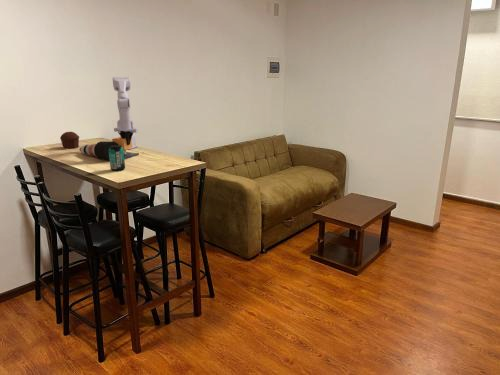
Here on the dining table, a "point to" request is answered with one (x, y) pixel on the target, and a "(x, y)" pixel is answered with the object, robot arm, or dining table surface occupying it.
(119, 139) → the orange hollow block
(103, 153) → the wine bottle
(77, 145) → the muffin
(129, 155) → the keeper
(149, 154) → the dining table surface
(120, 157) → the beverage can
